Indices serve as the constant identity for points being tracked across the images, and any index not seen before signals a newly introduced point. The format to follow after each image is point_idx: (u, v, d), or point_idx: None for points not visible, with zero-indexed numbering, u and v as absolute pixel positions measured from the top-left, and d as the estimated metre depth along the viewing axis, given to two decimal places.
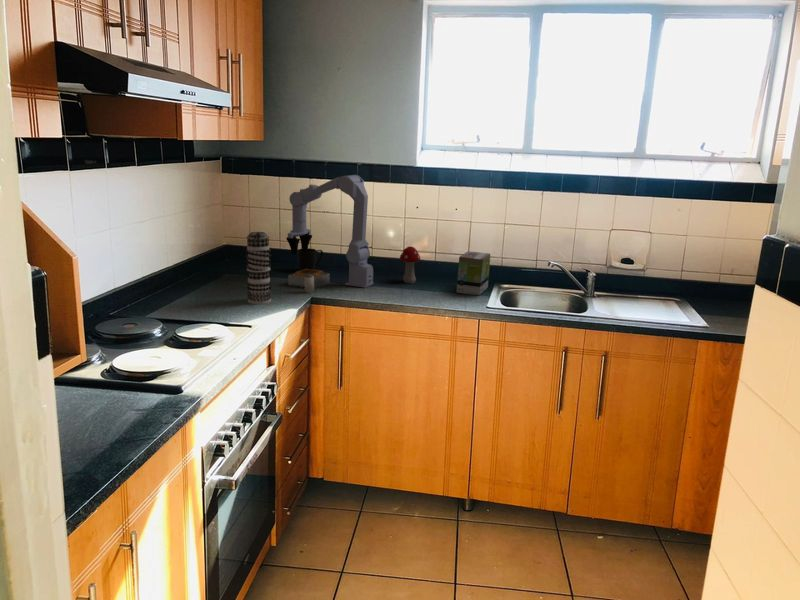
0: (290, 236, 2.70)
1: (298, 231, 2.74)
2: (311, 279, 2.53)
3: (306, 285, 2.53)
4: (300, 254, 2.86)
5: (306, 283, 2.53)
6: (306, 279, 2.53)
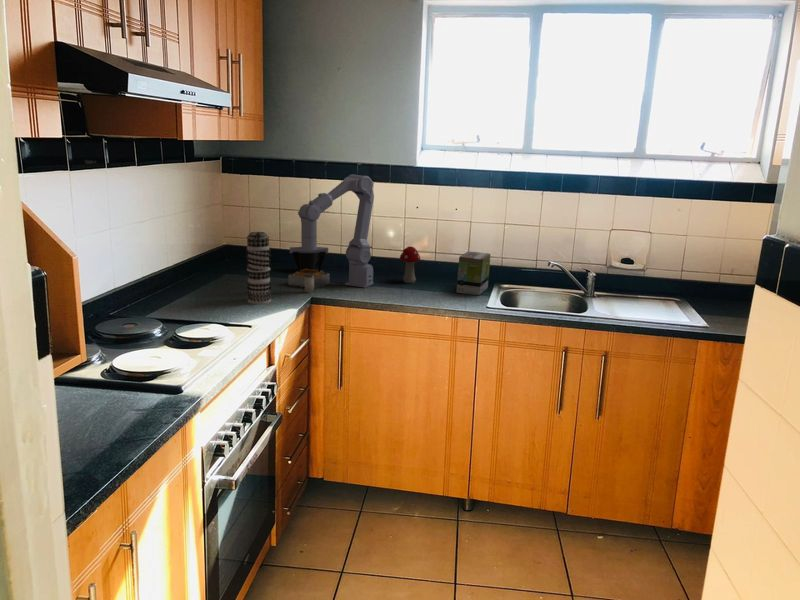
0: None
1: (302, 247, 2.50)
2: (311, 279, 2.53)
3: (306, 285, 2.53)
4: (300, 254, 2.86)
5: (306, 283, 2.53)
6: (306, 279, 2.53)
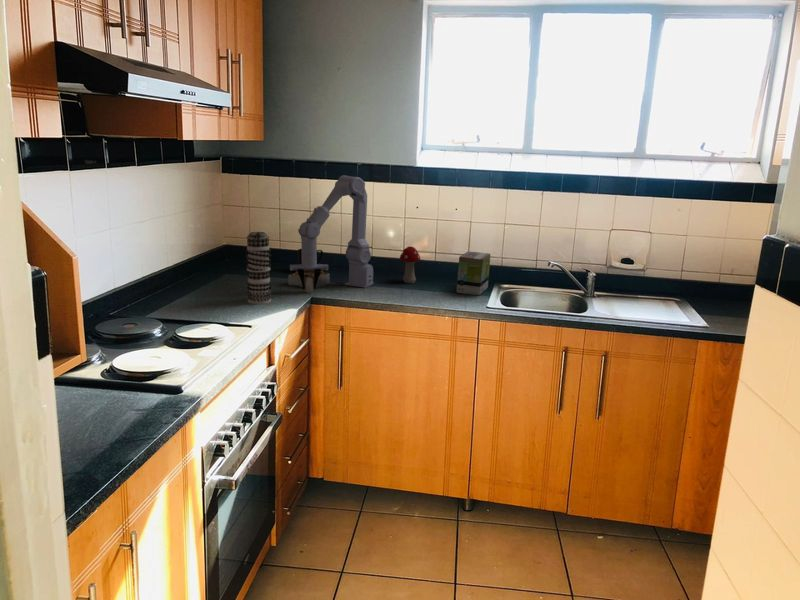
0: (290, 268, 2.52)
1: (302, 264, 2.51)
2: (311, 279, 2.53)
3: (306, 285, 2.53)
4: (300, 254, 2.86)
5: (306, 283, 2.53)
6: (306, 279, 2.53)
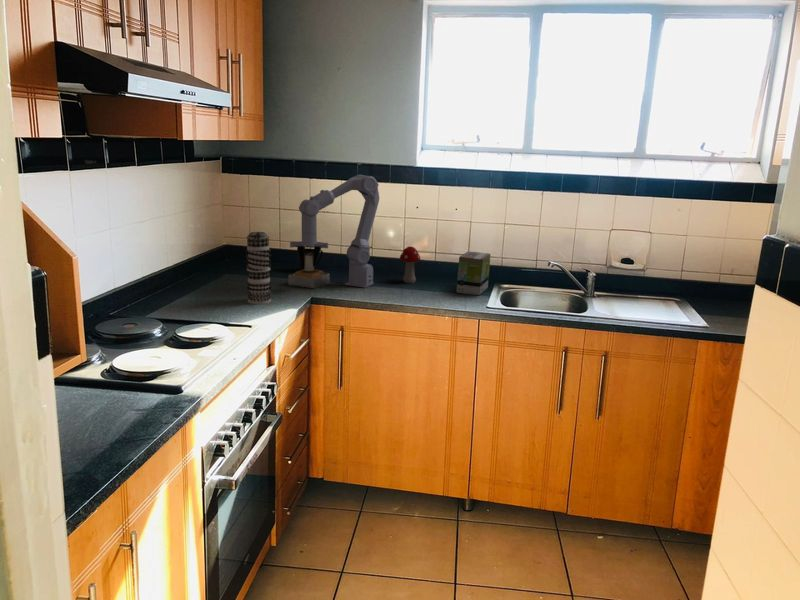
0: (290, 245, 2.55)
1: (302, 241, 2.54)
2: (310, 257, 2.55)
3: (305, 263, 2.56)
4: None
5: (305, 261, 2.56)
6: (305, 257, 2.55)
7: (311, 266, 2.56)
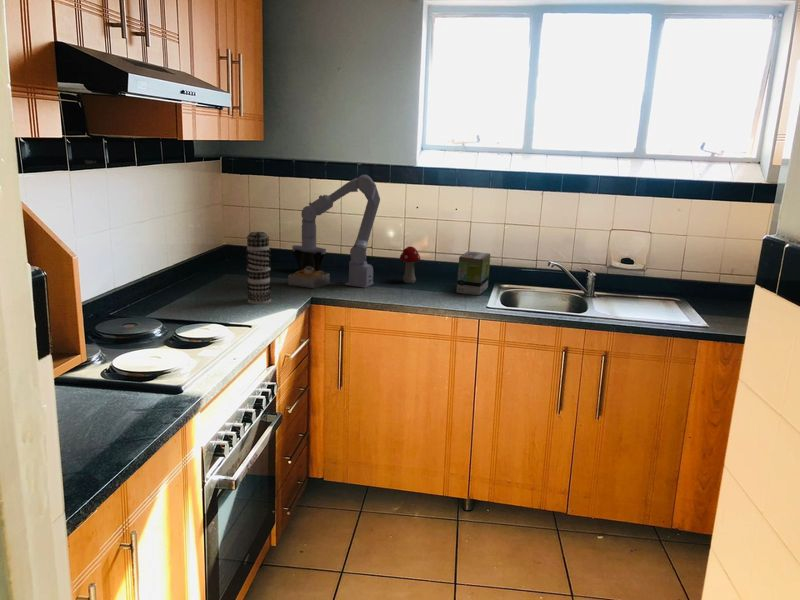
0: None
1: None
2: (308, 272, 2.64)
3: None
4: None
5: None
6: (304, 271, 2.65)
7: None
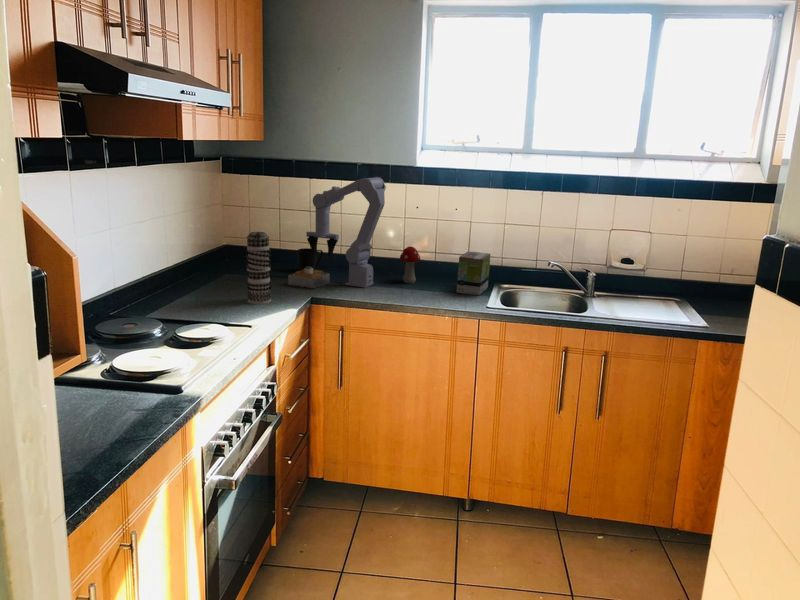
0: None
1: None
2: (308, 271, 2.65)
3: None
4: (300, 254, 2.86)
5: None
6: (304, 270, 2.66)
7: None
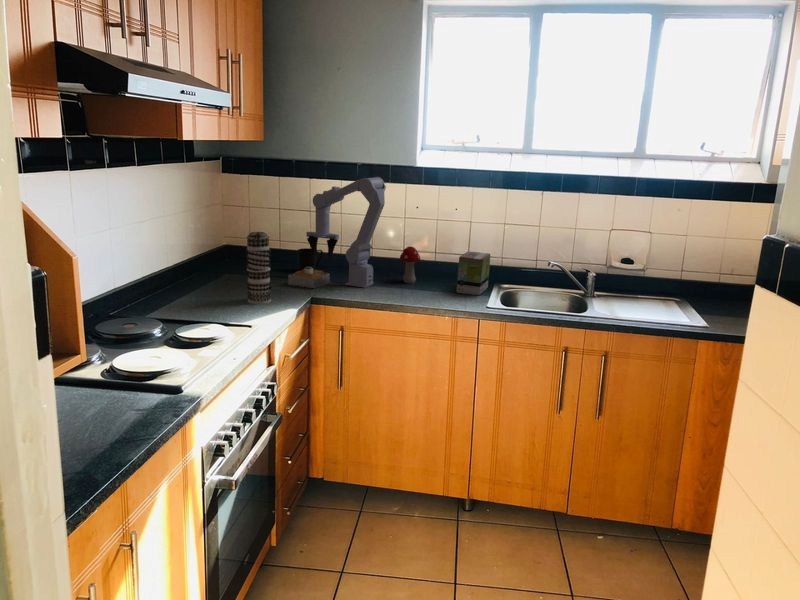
0: None
1: None
2: (308, 271, 2.65)
3: None
4: (300, 254, 2.86)
5: None
6: (304, 270, 2.66)
7: None
